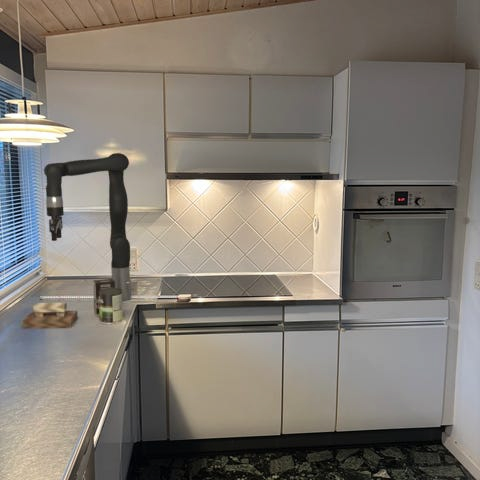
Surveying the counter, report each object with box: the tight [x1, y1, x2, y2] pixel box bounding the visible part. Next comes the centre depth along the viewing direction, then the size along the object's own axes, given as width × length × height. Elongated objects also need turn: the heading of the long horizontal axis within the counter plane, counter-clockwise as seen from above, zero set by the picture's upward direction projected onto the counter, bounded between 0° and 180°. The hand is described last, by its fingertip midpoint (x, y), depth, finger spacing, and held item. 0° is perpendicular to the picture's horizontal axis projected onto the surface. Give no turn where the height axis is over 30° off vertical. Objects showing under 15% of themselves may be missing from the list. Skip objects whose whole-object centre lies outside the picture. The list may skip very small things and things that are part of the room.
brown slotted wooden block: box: [22, 310, 79, 330], centre depth 213 cm, size 20×12×4 cm, turn 95°
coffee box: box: [92, 278, 115, 317], centre depth 227 cm, size 9×6×16 cm
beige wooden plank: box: [32, 302, 68, 317], centre depth 212 cm, size 13×4×8 cm, turn 95°
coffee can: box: [99, 288, 124, 325], centre depth 217 cm, size 10×10×14 cm
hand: (56, 239), depth 233 cm, fingers open, 8 cm apart
